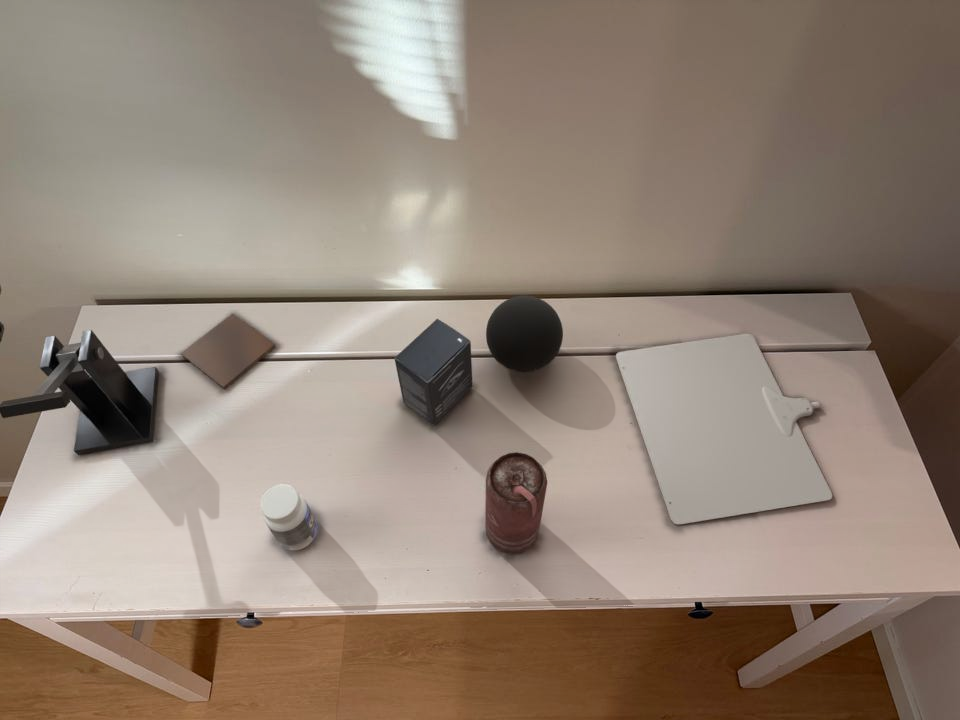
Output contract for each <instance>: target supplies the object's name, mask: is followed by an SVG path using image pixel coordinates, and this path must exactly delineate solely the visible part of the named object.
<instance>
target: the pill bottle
mask: <svg viewBox="0 0 960 720" xmlns="http://www.w3.org/2000/svg"><path fill="white" fill-rule="evenodd" d="M259 506H260V510H261V513H262V518H263V522H264V523H265V525H266V527H267V528H268V529H269V531H270V532H271V534H272V535H273V537H274V539H275V540H276V542H277V543H278V544H279V545H280V546H281V547H283V548H284V549H286V550H288V551H298V550H302V549H305V548H307V547H308V546H309V545H310V544H311V543H312V542H313V541H314V539H315V538H316V537H317V533H318V522H317V519H316V517H315V515H314V513H313V512H312V510H311V507H310V506H309V504H308V502H307V500H306V498H305V497H304V495H302V493H300V492H298V491H297V490H296V488H294V487H293V486H292V485H290V484H286V483H279V484H275V485H273V486H271V487H270V488H268V489H267V490H266V491H265V492H264V493H263V495H262V497H261V499H260V505H259Z"/></svg>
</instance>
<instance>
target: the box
mask: <svg viewBox="0 0 960 720" xmlns="http://www.w3.org/2000/svg"><path fill="white" fill-rule="evenodd" d="M394 363H395V368H396V373H397V378H398V383H399V387H400V388H399V389H400V393H401V398H402V403H403V404H405V405H406V406H407V407H408V408H410V409H411V410H413V412H415V413H416V414H418V415H419V416H420V417H422V418H423V419H424V420H425V421H426V422H428V423H430V424H431V425H432V426H435V425H437V423H438V422H440V420H441V419H442V418H444V416H446V414H447V413H448V412H449V411H450V410H452V409H453V408H454V406H455V405H456V404H457V403H459V402H460V400H461V399H462V398H463V397H464V396H465V395H466V394H467V393H468V392H469V391H470V390H471V389H472V388H473V387H474V386H473V385H474V384H473V364H472V363H473V361H472V340H470V338H468V337H466V336H465V335H463V334H462V333H461V332H459V331H458V330H456V329H455V328H453V327H451V326H450V325H448V323H445V322H444V321H442V320H440V319H439V318H436V319H435V320H434V321H433V322H431V324H430V325H428V326H427V327H426V328H425V329H424V330H423V331H422V332H421V333H419V335H417V336H416V337H415V338H413V340H412V341H411V342H410V343H408V345H407V346H405V347H404V348H403V349H402V350H401V351H400V352H399V353H398V354H397V355H396V356H394Z"/></svg>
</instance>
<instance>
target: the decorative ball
mask: <svg viewBox="0 0 960 720" xmlns="http://www.w3.org/2000/svg"><path fill="white" fill-rule="evenodd" d="M563 330H564V329H563V324H562V321H561V318H560V316H559V315H558V313H557V311H556V310H555V308H554V307H553V306H551V304H549V303H548V302H546V301H545V300H543V299H541V298H539V297H536V296H532V295H517V296H513V297H510V298H508V299H506V300H504V301H503V302H501V303H500V304H499V305H498V306H496V308H495V309H494V310H493V311H492V313H491V314H490V317H489V319H488V321H487V324H486V330H485V337H486V338H485V339H486V343H487V347H488V350H489V352H490V354H491V356H492V357H493V358H494V359H495V360H496V362H497V363H498V364H500V365H501V366H503V367H504V368H506V369H508V370H510V371H512V372H516V373H517V372H518V373H532V372H536V371H538V370H541V369H543V368H545V367H547V366H548V365H550V363H551V362H553V360H555V358H556V357H557V355H558V354H559V351H560V349H561V347H562V344H563V338H564V331H563Z"/></svg>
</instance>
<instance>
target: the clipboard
mask: <svg viewBox="0 0 960 720" xmlns="http://www.w3.org/2000/svg"><path fill="white" fill-rule="evenodd" d="M615 359H616V362H617V365H618V368H619V371H620V374H621V377H622V379H623V384H624V386H625V389H626V392H627V395H628V398H629V400H630V403H631V406H632V409H633V413H634V415H635V418H636V422H637V424H638V427H639V430H640V433H641V436H642V438H643V442H644V445H645V447H646V451H647V453H648V456H649V460H650V463H651V465H652V469H653V471H654V474H655V477H656V480H657V483H658V486H659V489H660V492H661V495H662V497H663V500H664V504H665V507H666V510H667V512H668V516H669V519H670V521H671V522H672V523H673V524H674V525H678V526H679V525H685V524H692V523H697V522H704V521H710V520H716V519H722V518H728V517H729V518H730V517H735V516H741V515H746V514H753V513H759V512H765V511H772V510H778V509H784V508H789V507H795V506H800V505H801V506H802V505H809V504H814V503H820V502H826V501H830V500H831V499H832V498H833V493H832V490H831V489H830V487H829V485H828V483H827V480H826V479H825V477H824V474H823V473H822V470H821V469H820V466H819V465H818V462H817V461H816V458H815V457H814V455H813V452H812V451H811V448H810V447H809V445H808V443H807V440H806V439H805V436H804V435H803V433H802V430H801V428H800V426H799V425H798V423H797V420H799V419H800V418H804V417H809V416H811V415H812V414H813V413H814V410H815V409H819V408H821V403H820V402H819V401H812V402H811V401H810V400H809V399H808V398H807V397H798V398H793V397H789V396H784V395H783V393H782V390H781V388H780V386H779V384H778V382H777V380H776V379H775V377H774V375H773V373H772V371H771V369H770V366H769V364H768V363H767V361H766V358H765V357H764V354H763V352H762V351H761V349H760V346H759V345H758V343H757V340H756V338H755V337H754V335H752V334H750V333H741V334H740V333H739V334H734V335H733V334H732V335H727V336H719V337H713V338H706V339H700V340H699V339H698V340H692V341H686V342H679V343H671V344H665V345H664V344H663V345H657V346H651V347H650V346H649V347H643V348H637V349H636V348H635V349H630V350H623V351H618V352H617V353H616V354H615Z"/></svg>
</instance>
